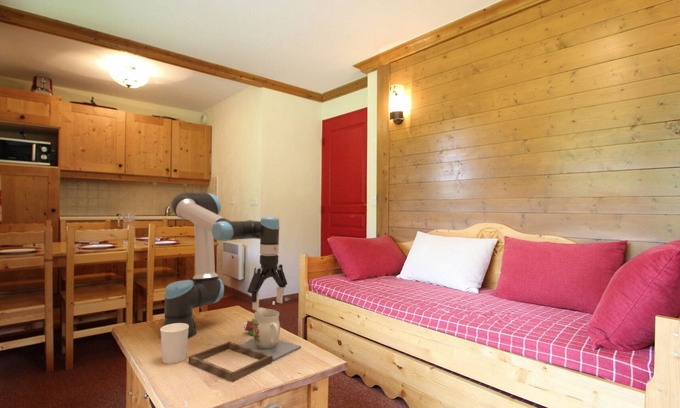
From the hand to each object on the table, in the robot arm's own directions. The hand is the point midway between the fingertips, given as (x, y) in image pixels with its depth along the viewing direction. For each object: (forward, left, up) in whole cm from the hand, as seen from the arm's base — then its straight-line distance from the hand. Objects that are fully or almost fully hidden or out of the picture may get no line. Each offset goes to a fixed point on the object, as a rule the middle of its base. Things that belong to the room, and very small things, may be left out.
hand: (267, 306), depth 147 cm
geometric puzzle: (-18, +8, -17) cm, 26 cm away
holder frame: (-1, -18, -17) cm, 25 cm away
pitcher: (0, 0, -16) cm, 16 cm away
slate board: (0, 0, -17) cm, 17 cm away
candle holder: (-21, -28, -17) cm, 39 cm away
